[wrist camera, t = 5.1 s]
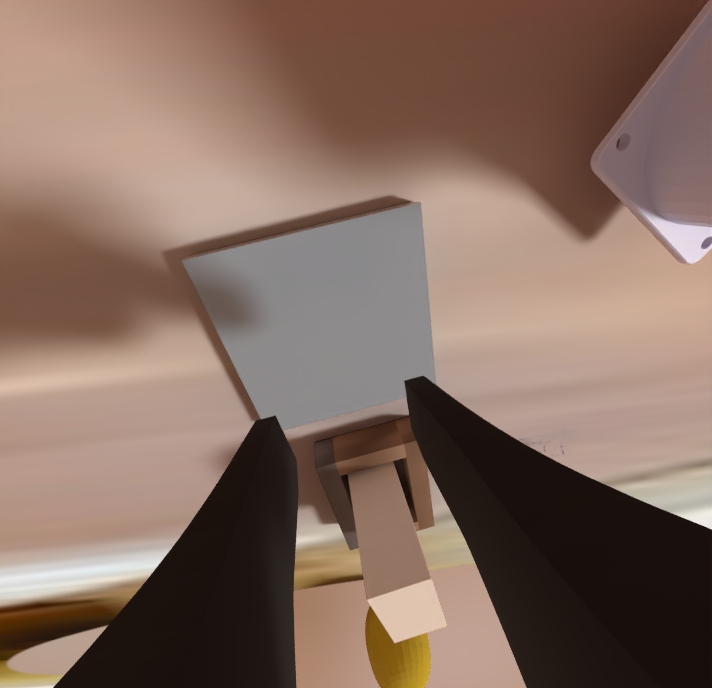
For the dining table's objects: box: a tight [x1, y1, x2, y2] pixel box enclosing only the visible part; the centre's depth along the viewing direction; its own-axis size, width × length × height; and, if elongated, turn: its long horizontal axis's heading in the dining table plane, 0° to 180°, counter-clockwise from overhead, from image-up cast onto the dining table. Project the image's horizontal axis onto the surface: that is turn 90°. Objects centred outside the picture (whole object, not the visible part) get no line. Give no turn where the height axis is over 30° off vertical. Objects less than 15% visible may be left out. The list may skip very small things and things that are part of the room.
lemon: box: [365, 606, 431, 688], centre depth 26 cm, size 6×6×8 cm
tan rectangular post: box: [348, 461, 447, 643], centre depth 18 cm, size 3×6×8 cm, turn 16°
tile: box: [182, 202, 436, 430], centre depth 15 cm, size 10×10×1 cm
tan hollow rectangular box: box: [314, 417, 434, 550], centre depth 20 cm, size 7×10×2 cm
